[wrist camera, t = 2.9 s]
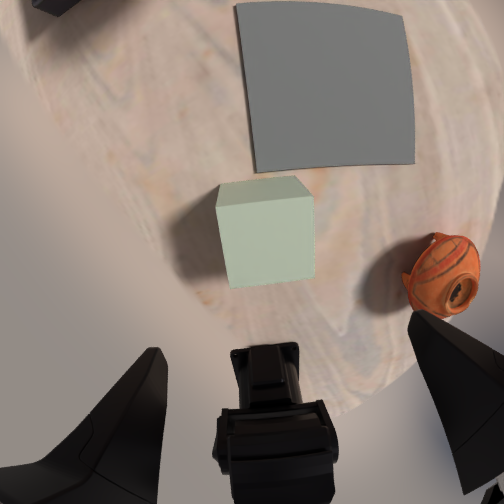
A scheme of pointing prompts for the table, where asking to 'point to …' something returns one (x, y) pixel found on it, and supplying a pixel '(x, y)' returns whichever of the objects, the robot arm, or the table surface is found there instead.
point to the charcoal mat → (326, 85)
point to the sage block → (266, 231)
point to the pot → (444, 276)
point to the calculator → (54, 6)
